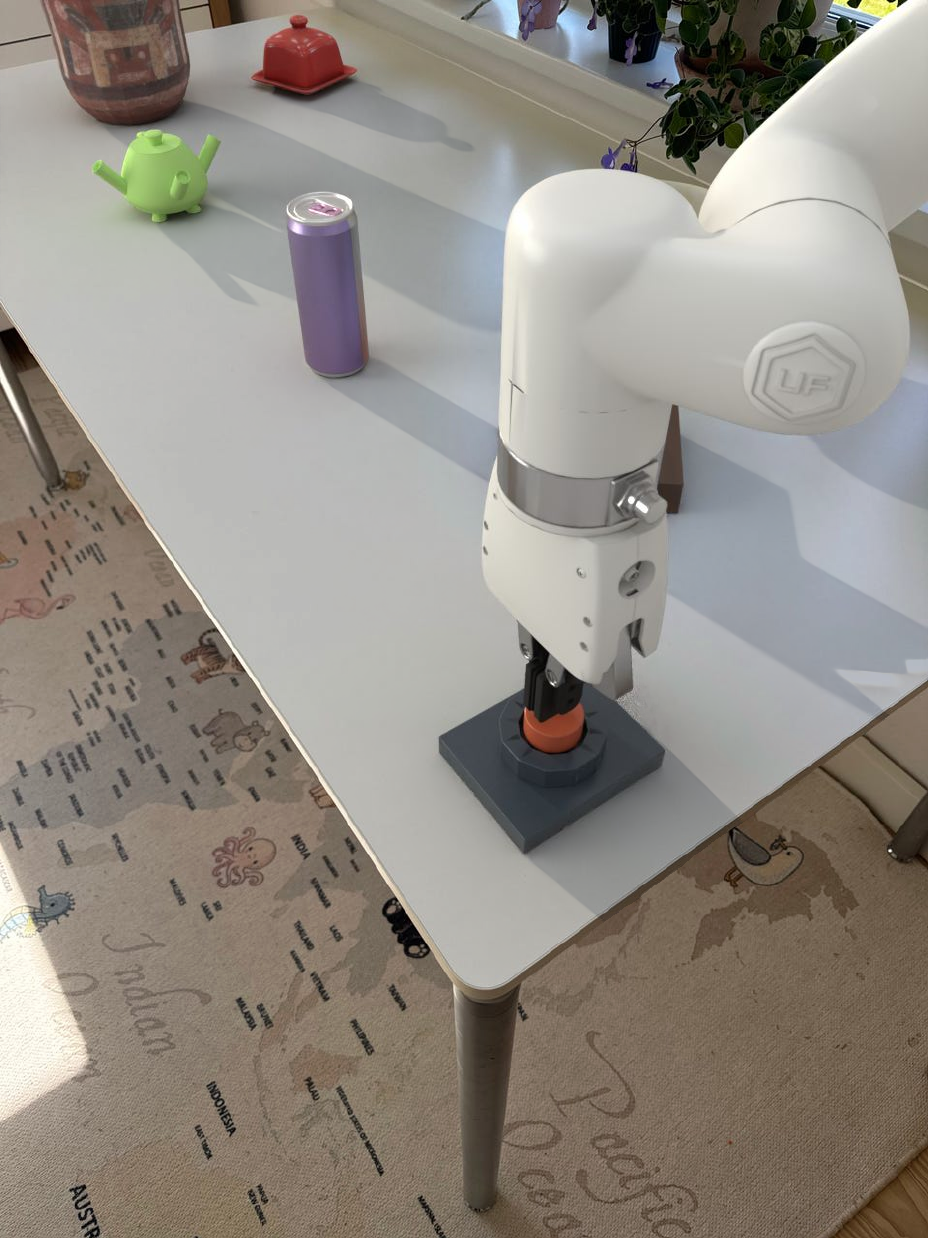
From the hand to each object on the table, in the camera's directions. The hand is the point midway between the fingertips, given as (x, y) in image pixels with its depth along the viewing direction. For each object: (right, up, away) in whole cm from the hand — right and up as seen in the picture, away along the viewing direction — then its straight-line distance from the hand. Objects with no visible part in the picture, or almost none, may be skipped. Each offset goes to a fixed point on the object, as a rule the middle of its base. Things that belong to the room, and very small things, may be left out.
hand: (552, 703), depth 60 cm
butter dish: (-28, +81, +83) cm, 119 cm away
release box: (0, -4, +4) cm, 6 cm away
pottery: (-50, +74, +77) cm, 118 cm away
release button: (0, -2, +2) cm, 3 cm away
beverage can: (-17, +29, +35) cm, 49 cm away
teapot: (-39, +52, +56) cm, 86 cm away
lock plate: (+5, +18, +24) cm, 31 cm away
